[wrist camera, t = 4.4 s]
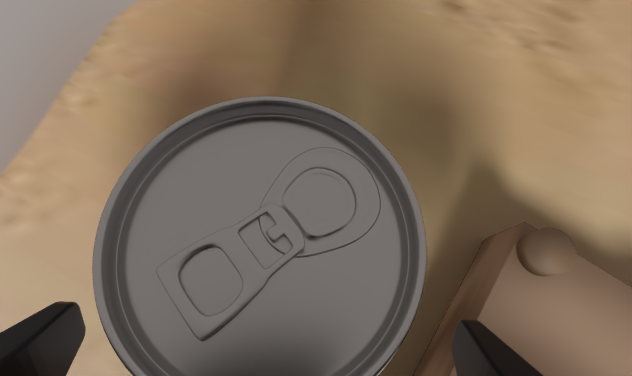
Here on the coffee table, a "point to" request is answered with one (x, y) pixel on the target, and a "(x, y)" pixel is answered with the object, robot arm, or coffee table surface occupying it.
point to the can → (260, 247)
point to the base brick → (541, 307)
